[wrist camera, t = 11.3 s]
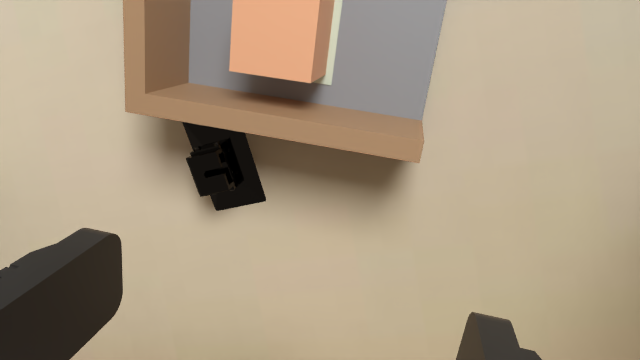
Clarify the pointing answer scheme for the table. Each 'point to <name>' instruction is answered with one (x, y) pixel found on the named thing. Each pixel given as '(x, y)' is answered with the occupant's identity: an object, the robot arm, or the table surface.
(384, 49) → the arena
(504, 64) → the table surface
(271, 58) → the cube
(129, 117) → the table surface
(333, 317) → the table surface
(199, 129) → the black notched block
